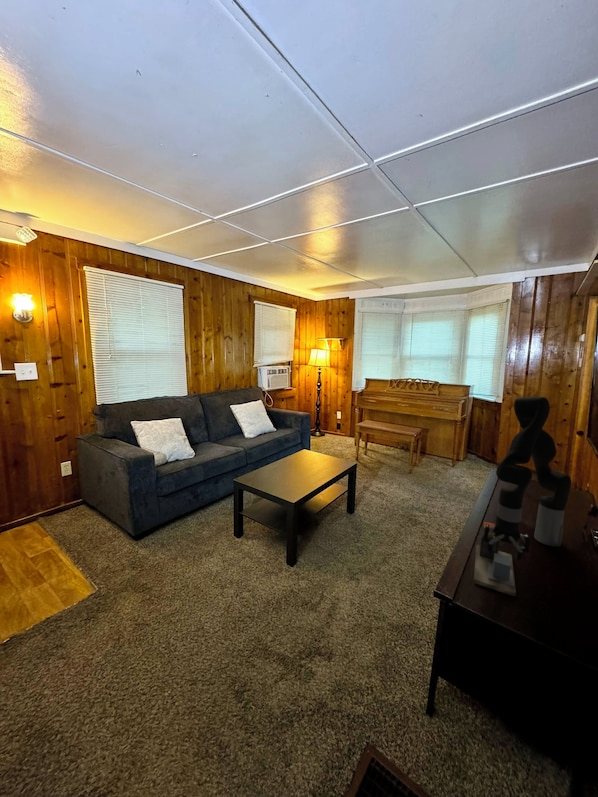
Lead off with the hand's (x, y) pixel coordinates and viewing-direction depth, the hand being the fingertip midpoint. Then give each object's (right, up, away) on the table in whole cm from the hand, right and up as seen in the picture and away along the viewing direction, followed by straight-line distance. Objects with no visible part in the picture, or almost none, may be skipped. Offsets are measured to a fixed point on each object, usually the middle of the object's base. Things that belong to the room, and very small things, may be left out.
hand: (503, 555), depth 121 cm
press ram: (+2, -1, +13) cm, 13 cm away
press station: (0, -9, +6) cm, 11 cm away
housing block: (0, -7, +1) cm, 8 cm away
